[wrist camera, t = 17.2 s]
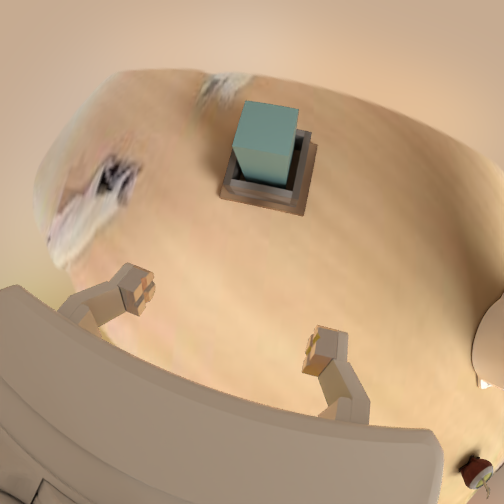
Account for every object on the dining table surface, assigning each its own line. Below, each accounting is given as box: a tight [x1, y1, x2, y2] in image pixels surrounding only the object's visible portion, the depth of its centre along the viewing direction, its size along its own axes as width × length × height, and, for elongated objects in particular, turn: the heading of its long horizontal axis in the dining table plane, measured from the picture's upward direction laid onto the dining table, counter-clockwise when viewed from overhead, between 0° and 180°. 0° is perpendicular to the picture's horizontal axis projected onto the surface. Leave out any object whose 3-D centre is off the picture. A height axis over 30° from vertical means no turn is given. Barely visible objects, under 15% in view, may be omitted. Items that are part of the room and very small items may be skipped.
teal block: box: [232, 101, 299, 190], centre depth 28 cm, size 5×5×12 cm
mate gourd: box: [459, 455, 493, 498], centre depth 22 cm, size 8×8×15 cm
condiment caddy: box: [220, 129, 317, 216], centre depth 33 cm, size 11×10×6 cm
